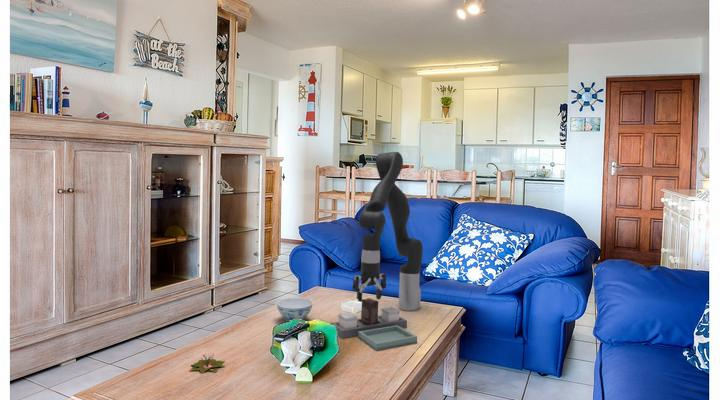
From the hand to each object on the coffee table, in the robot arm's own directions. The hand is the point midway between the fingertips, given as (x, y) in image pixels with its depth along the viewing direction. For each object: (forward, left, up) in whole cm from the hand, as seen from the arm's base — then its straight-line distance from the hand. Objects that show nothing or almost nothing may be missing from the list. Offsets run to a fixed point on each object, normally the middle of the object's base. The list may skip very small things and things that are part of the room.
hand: (369, 299), depth 196 cm
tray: (0, +14, -12) cm, 19 cm away
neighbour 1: (+10, 0, -12) cm, 16 cm away
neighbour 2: (-10, 0, -12) cm, 16 cm away
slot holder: (0, 0, -12) cm, 12 cm away
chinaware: (+24, -22, -12) cm, 34 cm away
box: (0, 0, -12) cm, 12 cm away
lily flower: (+66, +9, -13) cm, 68 cm away
